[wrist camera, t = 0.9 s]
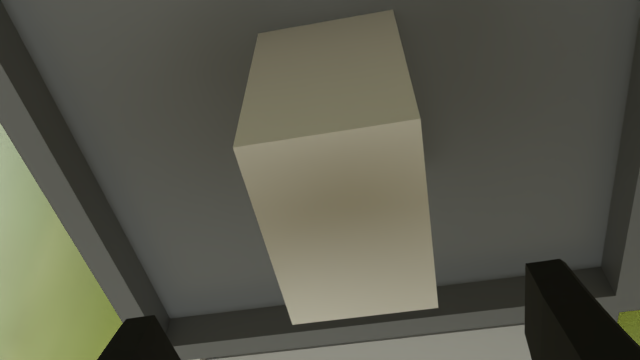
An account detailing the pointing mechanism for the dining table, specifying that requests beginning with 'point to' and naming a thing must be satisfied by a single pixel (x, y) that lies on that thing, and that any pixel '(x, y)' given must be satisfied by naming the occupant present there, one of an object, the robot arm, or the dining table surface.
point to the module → (338, 169)
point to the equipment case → (232, 196)
